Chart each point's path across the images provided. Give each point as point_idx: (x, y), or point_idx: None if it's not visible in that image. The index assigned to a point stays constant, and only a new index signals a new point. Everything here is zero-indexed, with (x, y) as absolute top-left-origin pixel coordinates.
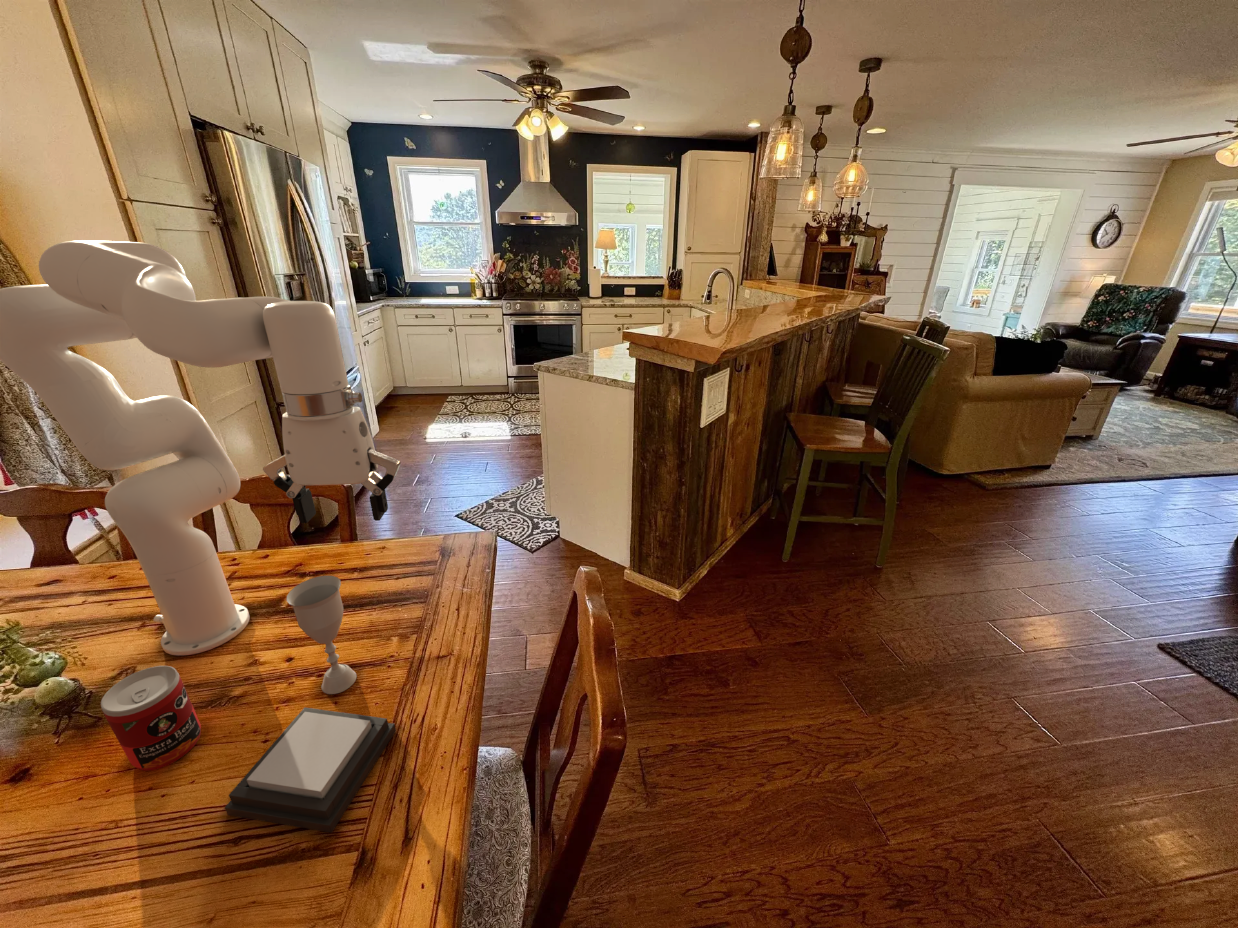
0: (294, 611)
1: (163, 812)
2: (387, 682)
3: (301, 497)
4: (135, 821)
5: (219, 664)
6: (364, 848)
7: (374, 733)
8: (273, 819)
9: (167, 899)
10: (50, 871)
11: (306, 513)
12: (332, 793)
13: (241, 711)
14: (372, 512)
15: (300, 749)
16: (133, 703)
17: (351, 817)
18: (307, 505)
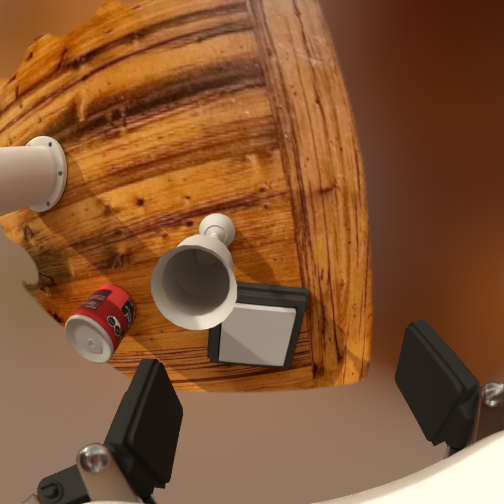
0: (175, 300)
1: (162, 349)
2: (274, 231)
3: (160, 479)
4: (151, 353)
5: (80, 216)
6: (314, 364)
7: (301, 315)
8: None
9: (212, 386)
10: (135, 371)
11: (174, 425)
12: (288, 359)
13: (143, 271)
14: (406, 400)
15: (245, 339)
16: (97, 353)
17: (298, 351)
18: (164, 433)
